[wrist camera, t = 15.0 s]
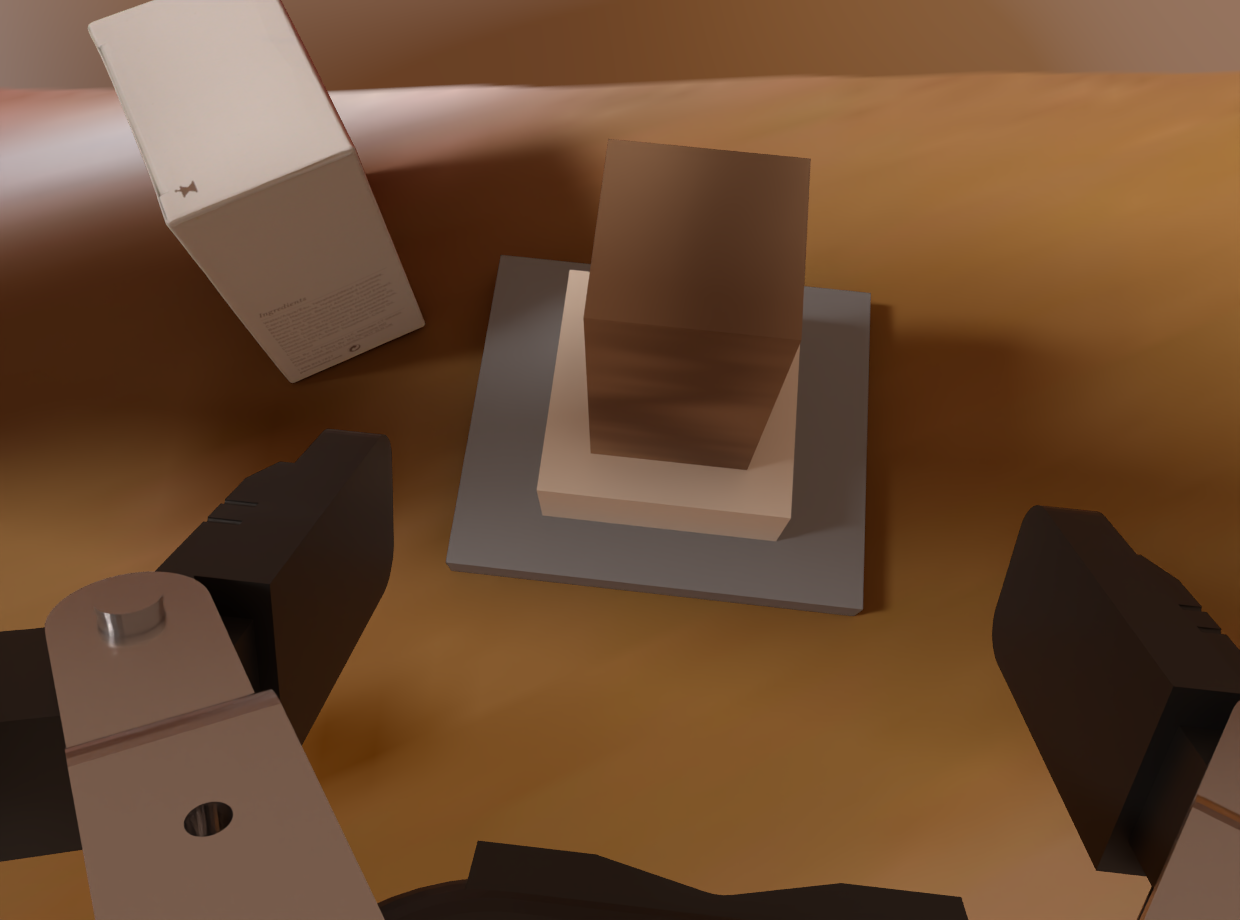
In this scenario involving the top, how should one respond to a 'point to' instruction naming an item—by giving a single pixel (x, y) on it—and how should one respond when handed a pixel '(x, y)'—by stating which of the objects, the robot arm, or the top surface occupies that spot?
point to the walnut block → (693, 300)
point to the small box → (259, 176)
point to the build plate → (652, 555)
